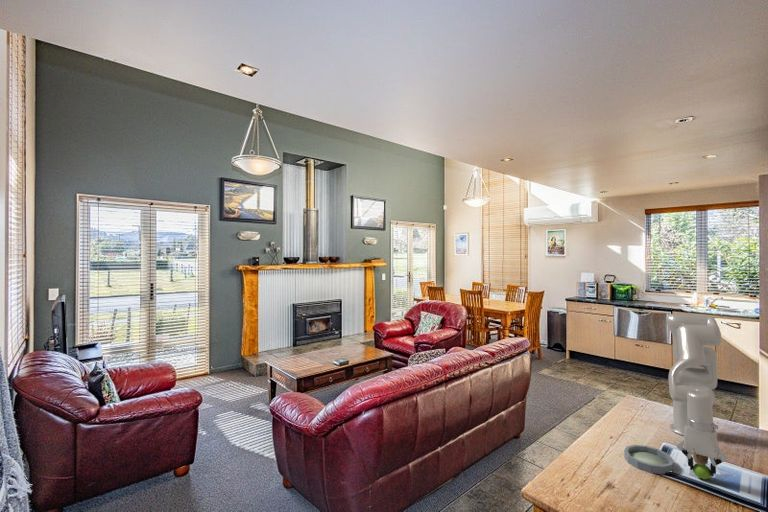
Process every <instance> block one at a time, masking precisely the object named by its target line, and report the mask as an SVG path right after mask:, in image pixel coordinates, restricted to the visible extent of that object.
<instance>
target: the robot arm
mask: <svg viewBox="0 0 768 512" xmlns="http://www.w3.org/2000/svg"><path fill="white" fill-rule="evenodd" d="M665 321H666V325H667V327H668V329H669V331H670V333H671V335H672V355H673V360H674V362H675V363H674V364H673V365H672V366H671V367H670V369H669V372H668V377H667V378H668V389H669V390H668V391H669V396H670V398H671V399H672V411H673V413H672V417H673V423H671V424H670V425H669V429H670V430H671V432H673V433H675V434H678V435H680V436H683V440H681V441H680V442H679V443H677V444H676V448H677V449H678V450H679V451H680V452H682V454H683V455H684V456H685V457H686V459H687V467H689V470H691V471H693V466H694V458H693V454H692V451H693V448H694V451H695V452H696V454H698V455H702V456H706V457H709V458H708V459H709V461H710V464H709V465H710V467H709V469H710V470H711V477H714V474H715V475H716V473H717V466H718V465H720V464H722V463H724V462H728V460H729V459H728V457H727V456H726V454H724V452H723V451H722V450H721V449H720V446H719V445H720V444H719V437H718V432H717V430H718V429H719V425H718V424H715V423H714V410H713V407H714V403H715V402H716V394H715V392H714V391H713V390H715V389H716V388H717V387H718V357H717V352H716V351H715V349H714V348H713V347H718V346H721V343H722V332H721V329H720V327H719V325H718V323H717V320H716V319H715V317H713V316H712V315H708V314H707V315H706V314H690V313H669V314H668V315H667V316H666V319H665ZM712 346H713V347H712ZM719 456H720V457H719Z"/></svg>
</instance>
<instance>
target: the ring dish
mask: <svg viewBox="0 0 768 512" xmlns="http://www.w3.org/2000/svg"><path fill="white" fill-rule="evenodd" d="M623 454H624V455H623V456H624V459H625V461H626V462H627V463H628V464H629V465H631V466H633V467H634V468H636V469H638V470H641V471H643V472H647V473H649V474H657V475H658V474H659V475H666V474H665V473H666V472H669V471H672V470H673V471H674V469H673V467H674V468H675V460H674V459H673V457H672V456H671V455H670V454H669V453H667V452H665V451H663V450H661V449H659V448H656V447H653V446H649V445H643V444H642V445H641V444H633V445H632V444H631V445H627V446H626V447H625V448H624V450H623ZM661 457H662V458H661ZM663 458H664V459H663ZM665 459H666V461H665Z"/></svg>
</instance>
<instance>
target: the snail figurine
mask: <svg viewBox="0 0 768 512" xmlns="http://www.w3.org/2000/svg"><path fill="white" fill-rule="evenodd" d="M692 458H693V462H695V464H693V470H692V471H693V473H694V475H695V476H696V477H697V476H698V477H697V478H699V479H701V478H702V480H708V479H711V477H712V476H711V470H710V467H709V466H707V464H708V463H709V461H708V460H709V459H710V458H709V457H706V456H702V455H698V454H696V452H695V451H694V448H693V451H692Z"/></svg>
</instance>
